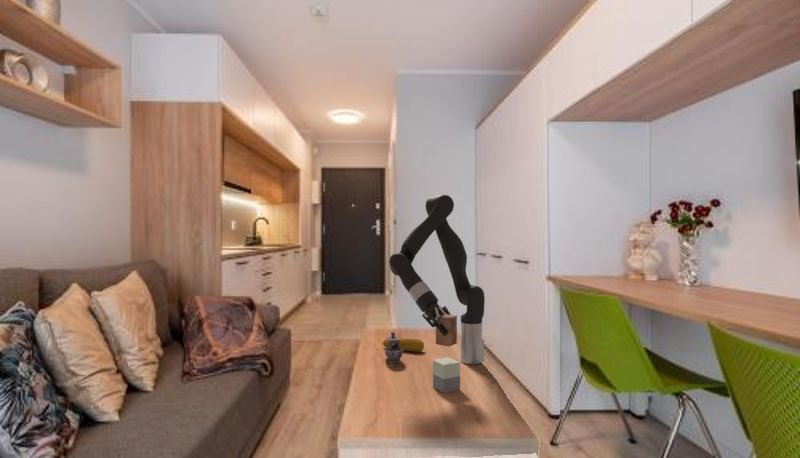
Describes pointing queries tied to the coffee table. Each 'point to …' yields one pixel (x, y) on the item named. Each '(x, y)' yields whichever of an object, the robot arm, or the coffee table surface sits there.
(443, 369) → the tower top
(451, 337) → the walnut block
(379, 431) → the coffee table surface
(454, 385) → the tower base
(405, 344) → the food
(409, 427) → the coffee table surface
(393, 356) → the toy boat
